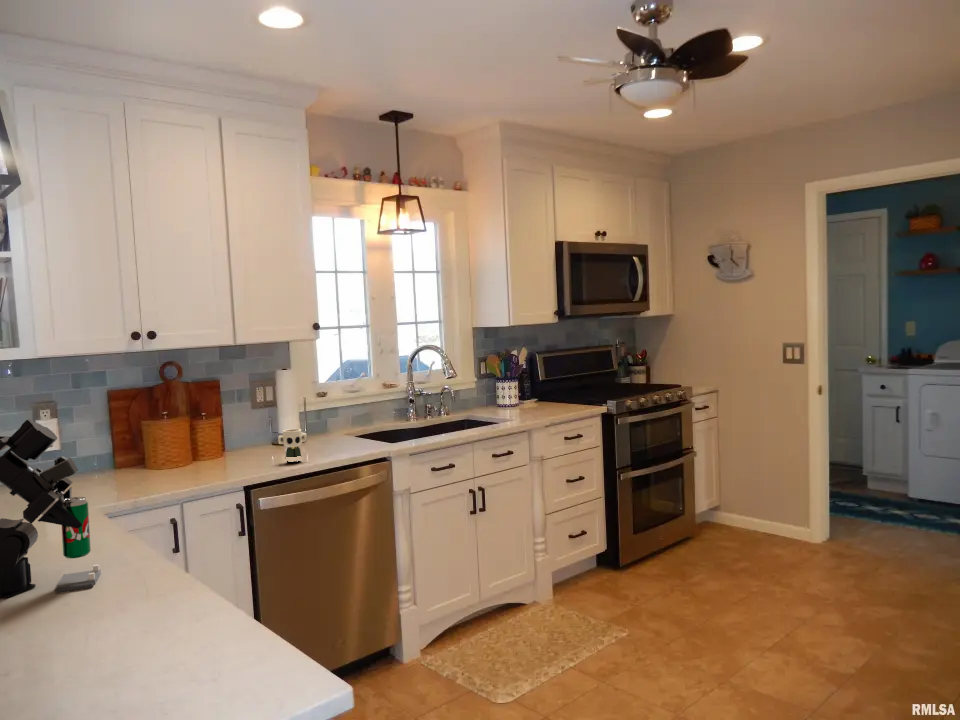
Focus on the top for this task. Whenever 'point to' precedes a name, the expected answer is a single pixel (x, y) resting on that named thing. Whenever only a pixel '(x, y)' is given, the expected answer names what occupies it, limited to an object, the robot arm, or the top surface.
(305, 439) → the character mug
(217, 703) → the top surface
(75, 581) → the switch plate
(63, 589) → the dark grey rod
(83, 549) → the soda can
